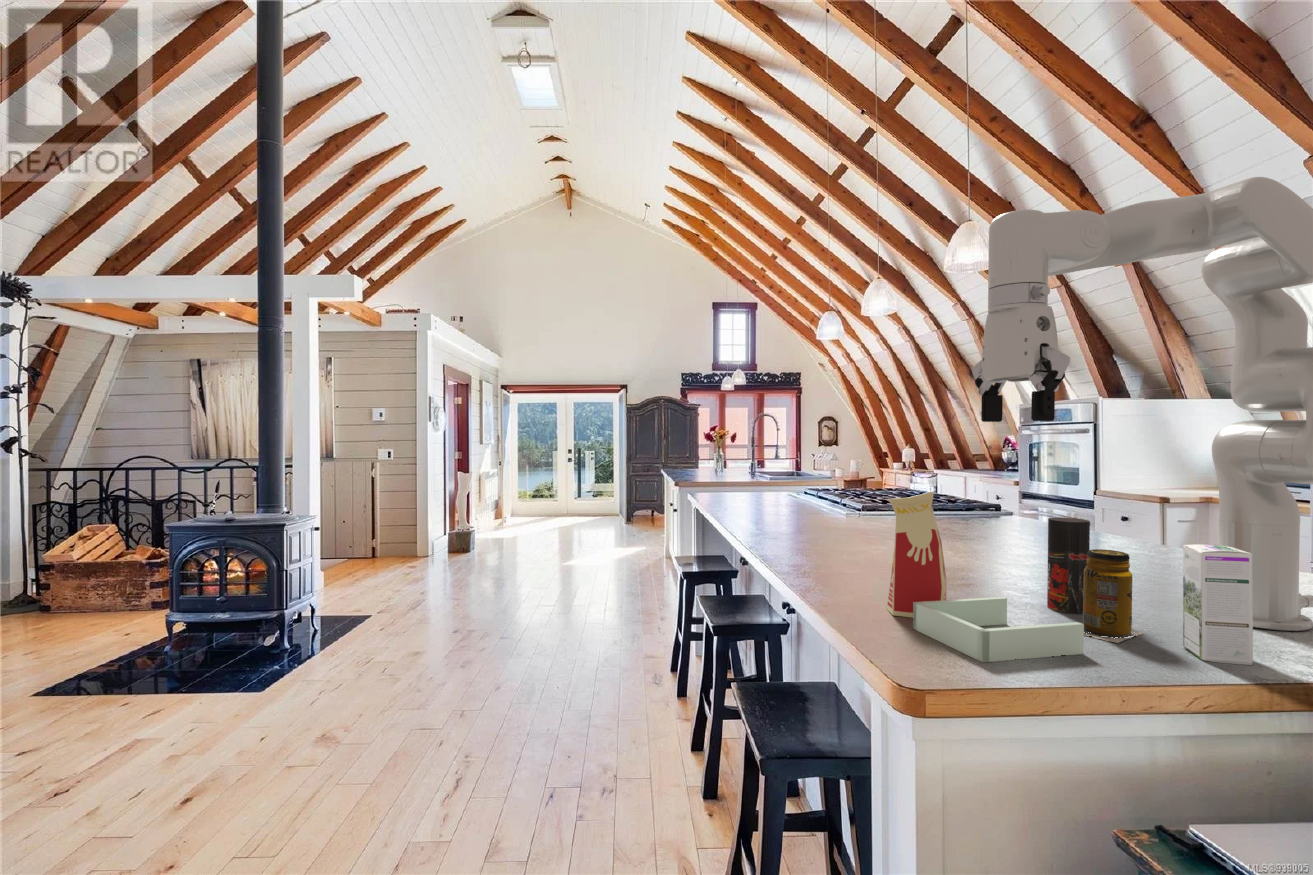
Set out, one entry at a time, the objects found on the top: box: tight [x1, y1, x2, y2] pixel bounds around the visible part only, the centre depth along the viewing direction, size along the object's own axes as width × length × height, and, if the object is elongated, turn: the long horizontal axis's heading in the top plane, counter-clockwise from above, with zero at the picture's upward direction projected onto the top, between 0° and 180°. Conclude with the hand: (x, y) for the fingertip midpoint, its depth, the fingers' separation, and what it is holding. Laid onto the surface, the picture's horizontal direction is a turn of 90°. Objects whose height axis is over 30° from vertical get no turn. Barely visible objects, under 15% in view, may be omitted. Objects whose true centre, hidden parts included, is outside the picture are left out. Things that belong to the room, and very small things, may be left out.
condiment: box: [1082, 548, 1144, 644], centre depth 99 cm, size 7×8×12 cm
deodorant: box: [1046, 517, 1091, 615], centre depth 112 cm, size 6×6×15 cm
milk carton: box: [886, 490, 948, 619], centre depth 110 cm, size 9×9×20 cm
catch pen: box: [912, 596, 1085, 663], centre depth 95 cm, size 16×15×4 cm
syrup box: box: [1182, 543, 1254, 666], centre depth 89 cm, size 6×6×14 cm
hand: (1016, 421), depth 96 cm, fingers open, 9 cm apart
